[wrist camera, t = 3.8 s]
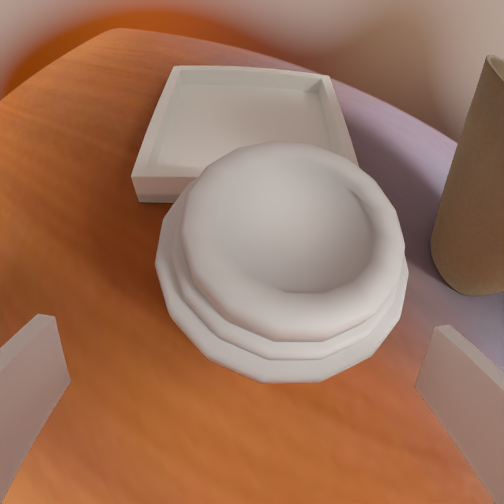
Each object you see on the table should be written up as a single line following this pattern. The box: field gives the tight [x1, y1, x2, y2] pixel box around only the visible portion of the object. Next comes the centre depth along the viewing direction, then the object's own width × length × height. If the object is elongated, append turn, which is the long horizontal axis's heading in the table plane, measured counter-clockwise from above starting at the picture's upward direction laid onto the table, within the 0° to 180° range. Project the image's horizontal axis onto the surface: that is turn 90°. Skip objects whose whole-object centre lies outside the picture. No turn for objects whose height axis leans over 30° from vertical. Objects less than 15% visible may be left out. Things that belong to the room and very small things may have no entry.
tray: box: [131, 66, 359, 203], centre depth 27 cm, size 17×17×3 cm
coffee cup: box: [155, 141, 409, 384], centre depth 14 cm, size 9×9×12 cm
